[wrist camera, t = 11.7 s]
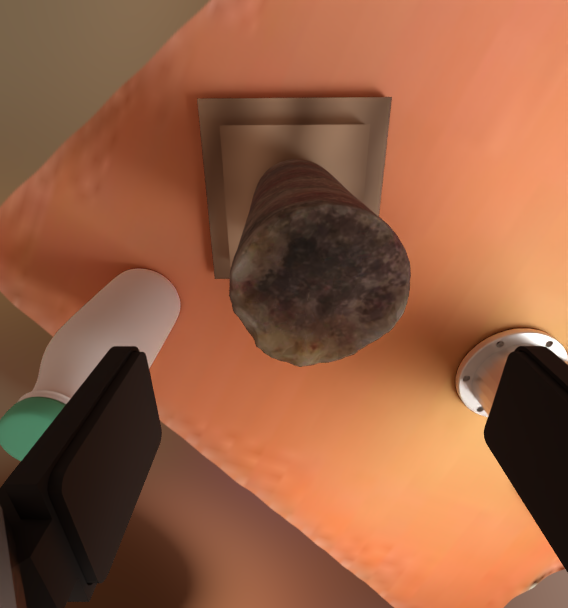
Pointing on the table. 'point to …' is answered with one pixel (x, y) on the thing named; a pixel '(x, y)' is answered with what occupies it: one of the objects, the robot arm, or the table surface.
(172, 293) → the milk bottle
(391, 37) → the table surface
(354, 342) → the dark brown rough cylinder
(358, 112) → the plinth
